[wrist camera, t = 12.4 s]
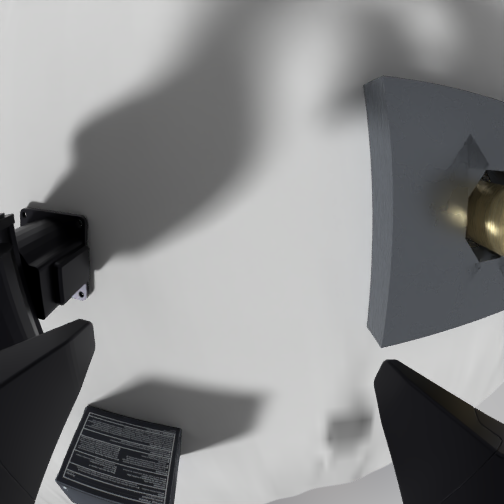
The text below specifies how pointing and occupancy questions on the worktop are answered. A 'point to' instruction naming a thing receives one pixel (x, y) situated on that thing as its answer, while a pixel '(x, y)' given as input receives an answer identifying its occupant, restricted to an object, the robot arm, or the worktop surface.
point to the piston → (486, 216)
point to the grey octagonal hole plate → (430, 207)
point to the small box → (120, 461)
